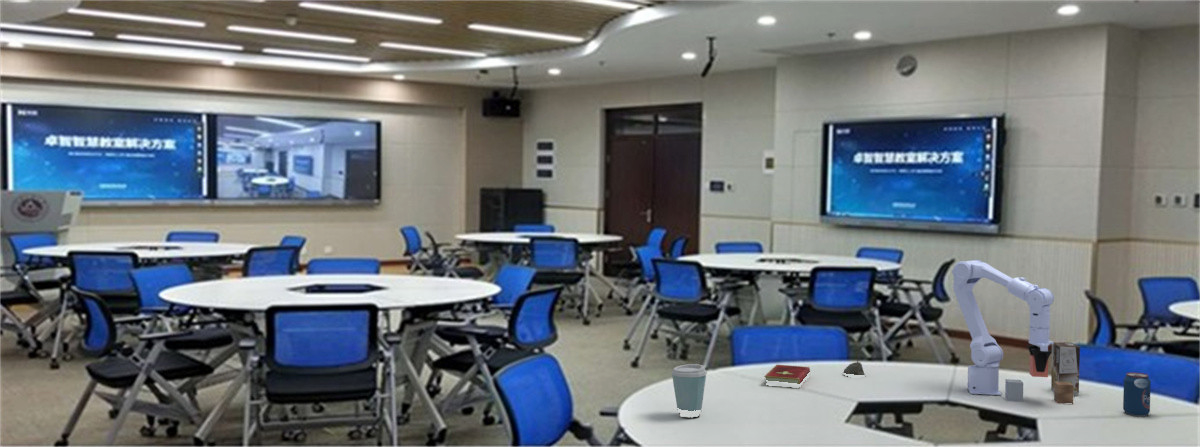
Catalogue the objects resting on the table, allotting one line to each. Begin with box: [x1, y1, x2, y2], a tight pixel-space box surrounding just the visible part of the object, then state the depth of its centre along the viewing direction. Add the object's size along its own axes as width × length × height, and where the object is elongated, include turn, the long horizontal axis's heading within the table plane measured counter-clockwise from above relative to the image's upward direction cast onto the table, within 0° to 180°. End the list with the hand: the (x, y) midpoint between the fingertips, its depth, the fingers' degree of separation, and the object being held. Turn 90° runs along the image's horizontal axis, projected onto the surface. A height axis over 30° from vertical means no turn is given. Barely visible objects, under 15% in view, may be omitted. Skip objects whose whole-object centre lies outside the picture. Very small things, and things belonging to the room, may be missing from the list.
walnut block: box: [1053, 381, 1074, 405], centre depth 288 cm, size 4×4×6 cm
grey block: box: [1004, 378, 1024, 402], centre depth 292 cm, size 4×4×6 cm
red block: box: [1028, 354, 1049, 378], centre depth 287 cm, size 4×4×6 cm
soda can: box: [1122, 371, 1151, 417], centre depth 273 cm, size 7×7×12 cm
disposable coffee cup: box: [670, 363, 708, 411], centre depth 273 cm, size 11×11×15 cm
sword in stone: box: [843, 345, 866, 376], centre depth 328 cm, size 10×8×12 cm
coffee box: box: [1050, 341, 1081, 397], centre depth 301 cm, size 9×6×16 cm
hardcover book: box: [763, 364, 811, 384], centre depth 319 cm, size 12×21×4 cm, turn 158°
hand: (1038, 370), depth 287 cm, fingers closed on red block, 4 cm apart
